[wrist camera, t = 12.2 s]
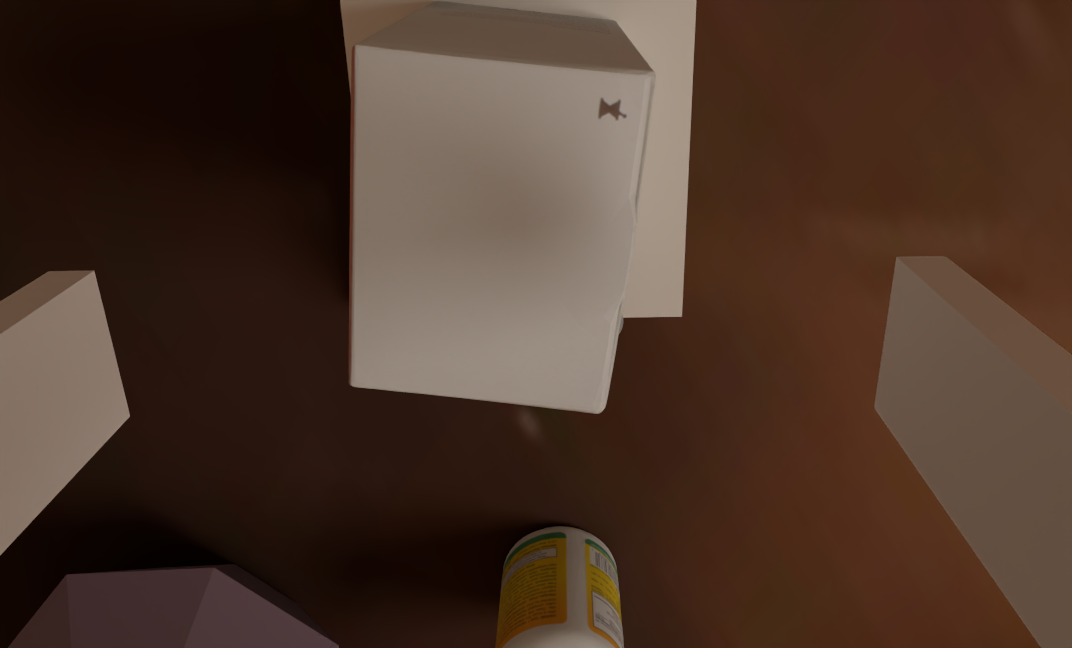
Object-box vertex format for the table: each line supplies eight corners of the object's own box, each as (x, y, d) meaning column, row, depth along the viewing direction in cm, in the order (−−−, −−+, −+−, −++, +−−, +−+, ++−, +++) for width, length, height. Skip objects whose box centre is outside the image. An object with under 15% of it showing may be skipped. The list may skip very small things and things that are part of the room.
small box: (433, -2, 29) (346, 33, 17) (620, 17, 29) (666, 66, 17) (422, 227, 32) (344, 394, 20) (590, 244, 32) (611, 419, 20)
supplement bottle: (631, 537, 39) (653, 705, 31) (596, 622, 42) (608, 803, 33) (519, 509, 39) (508, 673, 30) (489, 597, 41) (472, 774, 32)
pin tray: (694, -113, 29) (724, -125, 24) (676, 301, 35) (697, 362, 30) (339, -101, 29) (293, -112, 24) (383, 307, 35) (354, 367, 30)
